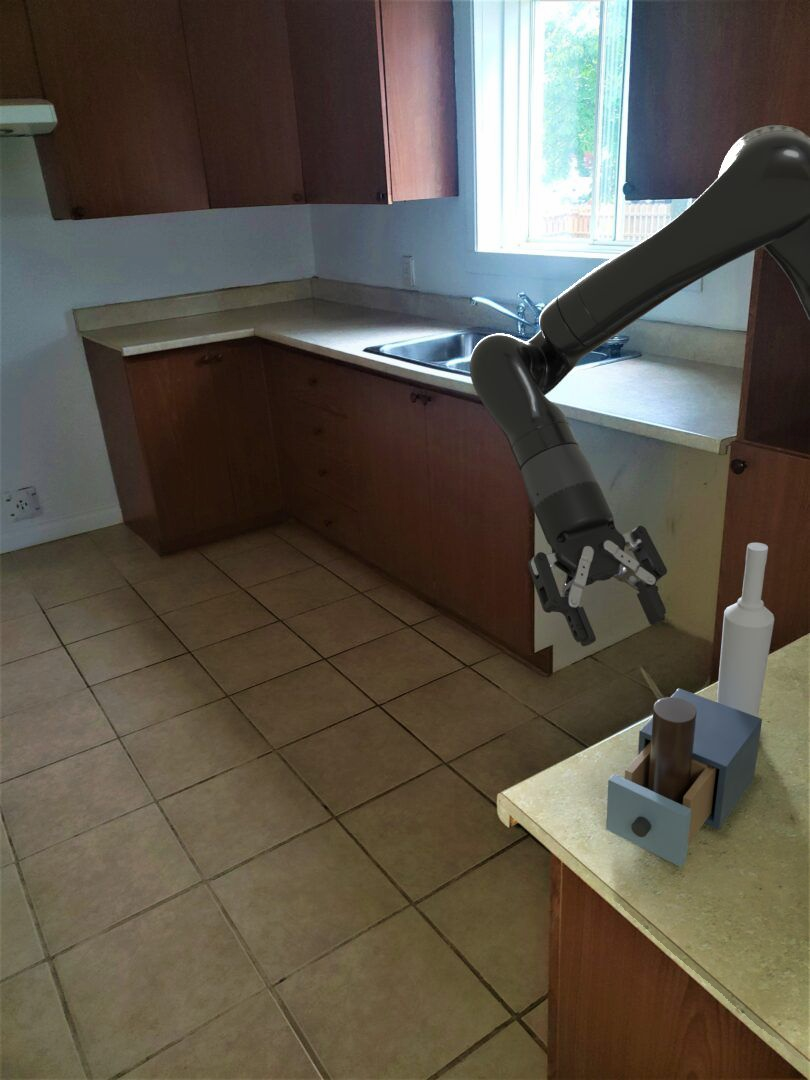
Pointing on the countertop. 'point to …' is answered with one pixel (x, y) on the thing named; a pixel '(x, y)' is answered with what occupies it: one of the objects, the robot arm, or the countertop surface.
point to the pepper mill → (672, 748)
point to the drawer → (659, 809)
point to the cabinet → (720, 750)
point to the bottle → (746, 639)
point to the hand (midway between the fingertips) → (624, 633)
